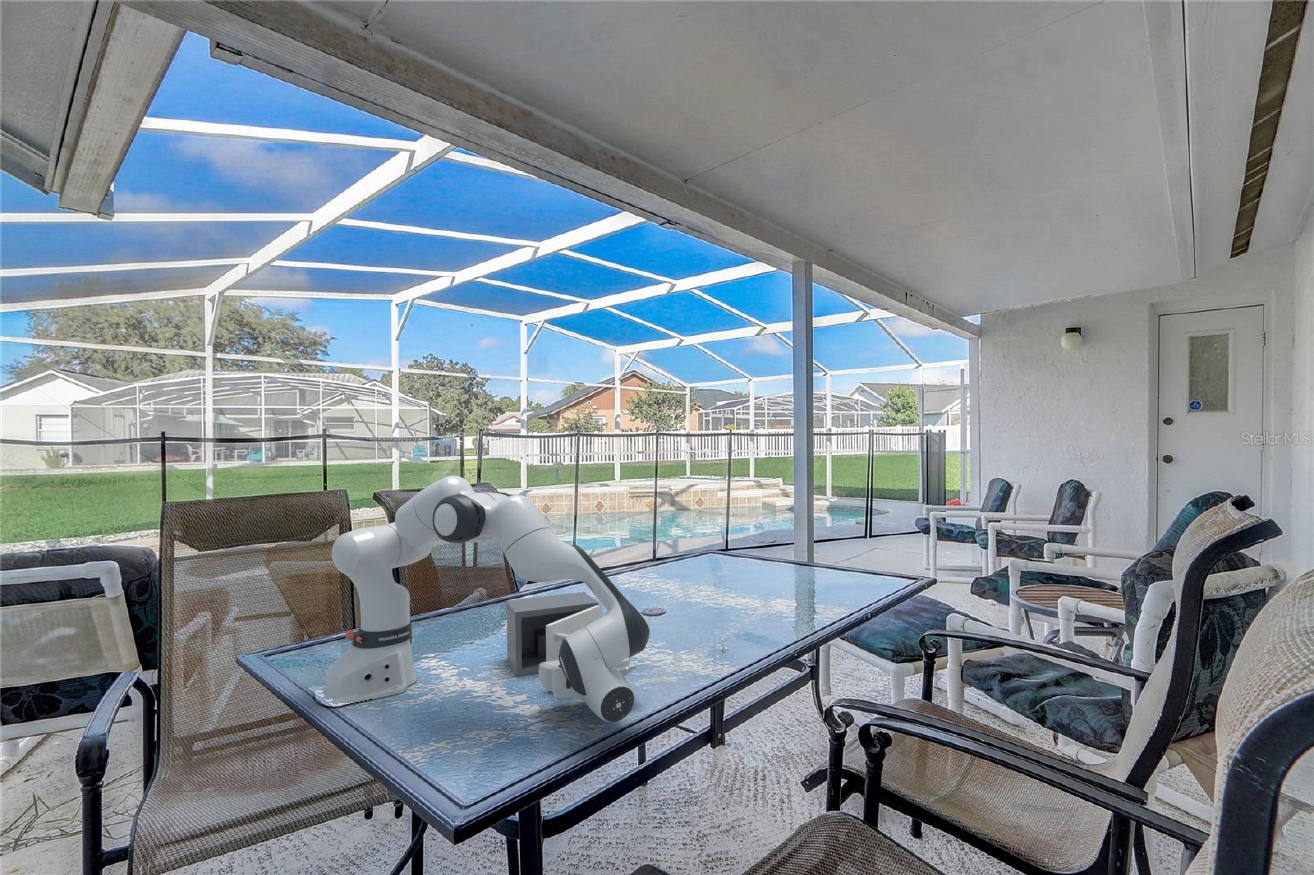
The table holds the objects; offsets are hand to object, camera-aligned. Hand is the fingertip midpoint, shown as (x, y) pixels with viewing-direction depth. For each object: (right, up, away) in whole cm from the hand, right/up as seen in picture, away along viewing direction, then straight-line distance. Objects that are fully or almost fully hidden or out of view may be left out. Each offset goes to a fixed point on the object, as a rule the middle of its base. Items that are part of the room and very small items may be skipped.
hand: (576, 657), depth 138 cm
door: (+1, -8, +8) cm, 11 cm away
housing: (-9, -9, +21) cm, 25 cm away
